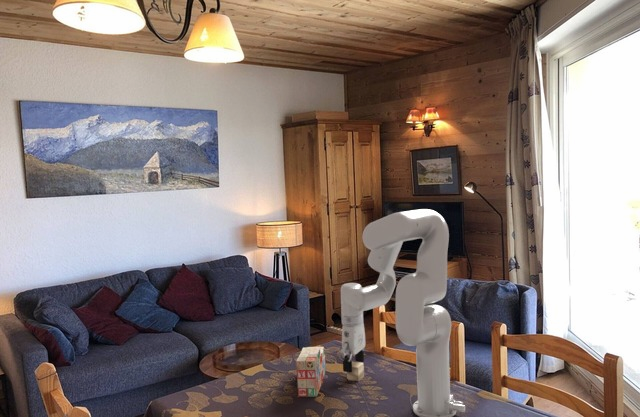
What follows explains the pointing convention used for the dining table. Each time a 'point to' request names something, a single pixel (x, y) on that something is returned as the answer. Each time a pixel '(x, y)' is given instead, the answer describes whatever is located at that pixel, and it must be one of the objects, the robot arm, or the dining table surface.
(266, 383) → the dining table surface
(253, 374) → the dining table surface
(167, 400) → the dining table surface
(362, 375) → the tan metal block
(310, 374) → the stack of blocks
